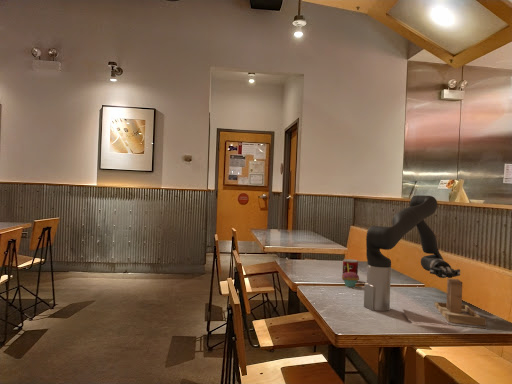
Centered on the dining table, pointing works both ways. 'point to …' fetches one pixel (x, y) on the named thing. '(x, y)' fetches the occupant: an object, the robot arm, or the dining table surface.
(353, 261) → the canned food
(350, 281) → the cupcake
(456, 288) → the walnut block
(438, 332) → the dining table surface
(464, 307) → the tray
